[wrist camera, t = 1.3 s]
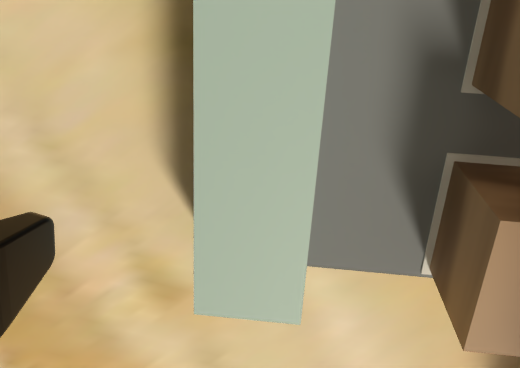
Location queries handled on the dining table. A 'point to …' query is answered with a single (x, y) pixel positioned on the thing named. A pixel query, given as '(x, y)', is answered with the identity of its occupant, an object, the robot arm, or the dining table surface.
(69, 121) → the dining table surface
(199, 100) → the beam
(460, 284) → the pillar
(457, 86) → the grey flat rectangular slab
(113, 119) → the dining table surface
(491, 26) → the pillar
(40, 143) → the dining table surface
